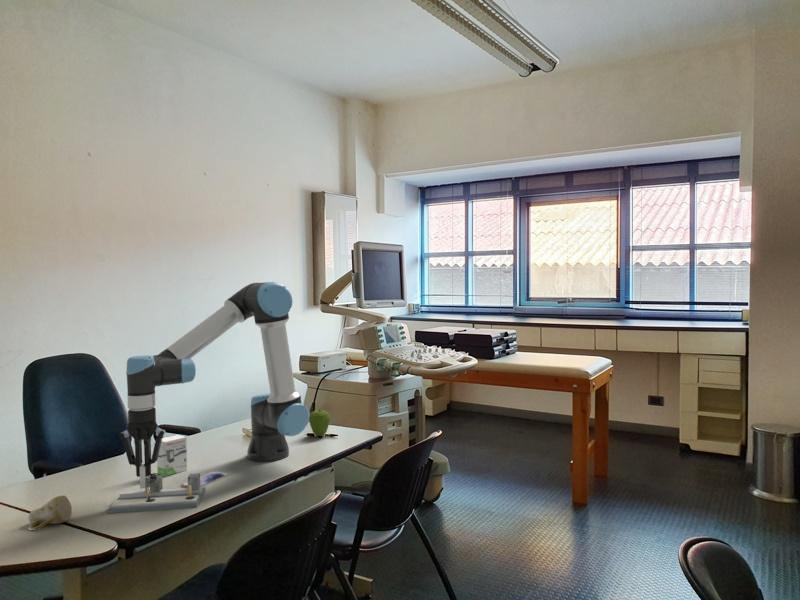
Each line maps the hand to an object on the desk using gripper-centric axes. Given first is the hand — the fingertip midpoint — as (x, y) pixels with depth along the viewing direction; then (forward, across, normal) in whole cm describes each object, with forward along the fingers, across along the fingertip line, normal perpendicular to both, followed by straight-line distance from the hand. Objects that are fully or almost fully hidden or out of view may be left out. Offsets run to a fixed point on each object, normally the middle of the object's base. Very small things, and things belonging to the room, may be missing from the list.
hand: (144, 486), depth 172 cm
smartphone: (+5, -15, -14) cm, 21 cm away
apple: (+4, -52, -63) cm, 81 cm away
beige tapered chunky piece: (+4, +20, +14) cm, 25 cm away
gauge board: (+4, -5, +3) cm, 7 cm away
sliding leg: (+2, -3, +2) cm, 4 cm away
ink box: (+4, -2, -25) cm, 26 cm away
